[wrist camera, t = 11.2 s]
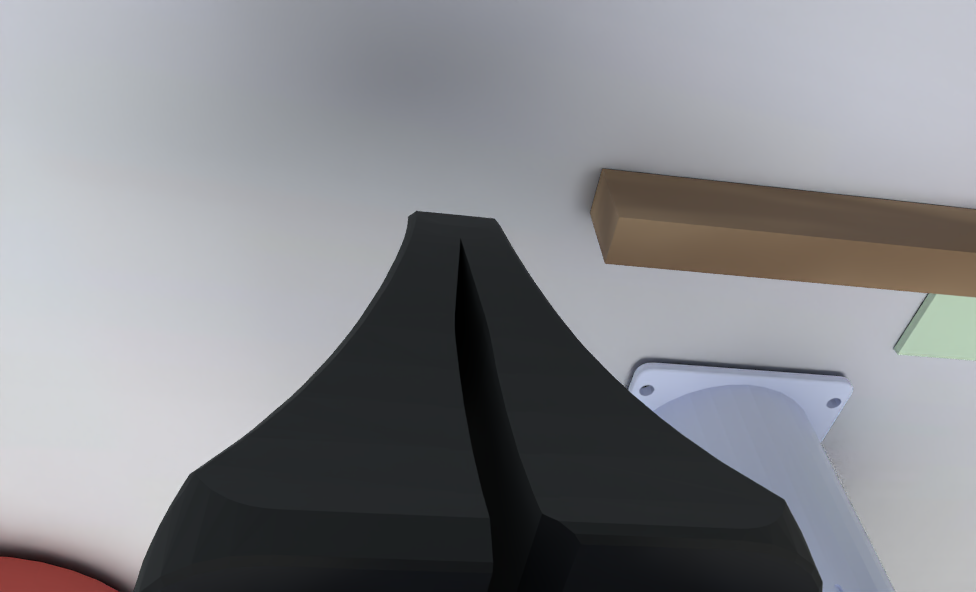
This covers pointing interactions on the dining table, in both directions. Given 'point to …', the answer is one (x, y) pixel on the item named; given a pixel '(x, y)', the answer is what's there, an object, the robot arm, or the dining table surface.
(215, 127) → the dining table surface
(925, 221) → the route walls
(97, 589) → the citrus juicer
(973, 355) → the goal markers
